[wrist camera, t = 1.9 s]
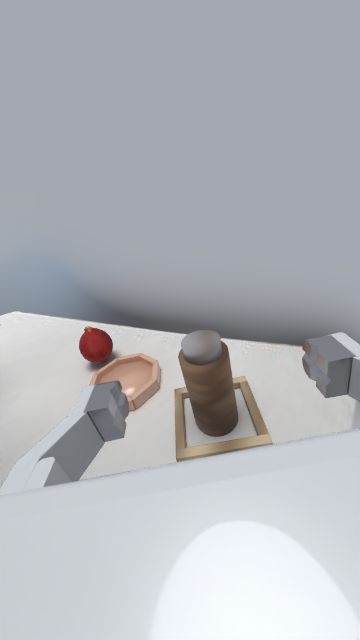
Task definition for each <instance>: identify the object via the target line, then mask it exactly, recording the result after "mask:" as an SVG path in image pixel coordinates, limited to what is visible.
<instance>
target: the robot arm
mask: <svg viewBox="0 0 360 640" xmlns="http://www.w3.org/2000/svg"><path fill="white" fill-rule="evenodd" d="M302 349H303V350H304V351H305V352H306V353H305V354H304V356H303V357H302V360H303V367H304V370H305V372H306V374H307V375H308V377H309V378H310V379H312V380H314V381H316V387H317V388H318V389H319V391H320V392H321V393H322V394H323V395H324V397H325V398H330V397H336V396H342V395H348V396H350V397H352V398H354V399H356V400H357V401H359V402H360V345H359V344H358V343H357V342H355V341H354V340H352V339H351V338H350V337H348V336H347V335H345V334H344V333H342V332H339V333H335V334H330V335H328V336H323V337H319V338H314V339H310V340H305V341H304V342H303V348H302ZM121 390H122V385H121V383H120V381H118V380H116V381H111V382H106V383H101V384H96V385H91V386H86V387H85V388H83V390H82V392H81V394H80V397H79V399H78V401H77V403H76V405H75V408H74V410H73V412H72V414H71V415H70V416H67V417H66V418H65V419H64V420H63V421H62V422H60V423H59V424H58V425H57V426H56V427H55V428H54V429H53V430H52V431H50V432H49V433H48V434H47V435H46V436H45V437H44V438H43V439H42V440H40V441H39V442H38V443H37V444H36V445H35V446H34V447H33V448H31V449H30V450H29V451H28V452H27V453H26V454H25V455H24V456H23V457H21V458H20V459H19V460H18V461H17V462H16V463H15V464H14V466H13V468H12V469H11V471H10V473H9V475H8V476H7V478H6V480H5V481H4V483H3V485H2V487H1V488H0V640H360V428H359V429H353V430H348V431H342V432H337V433H331V434H326V435H321V436H315V437H310V438H305V439H299V440H294V441H288V442H283V443H278V444H272V445H267V446H262V447H256V448H251V449H245V450H240V451H235V452H229V453H224V454H219V455H213V456H208V457H203V458H197V459H192V460H187V461H181V462H176V463H170V464H165V465H160V466H154V467H149V468H144V469H138V470H133V471H128V472H122V473H117V474H112V475H106V476H101V477H95V478H90V479H85V480H79V479H80V477H81V476H82V474H83V473H84V472H85V470H86V469H87V467H88V466H89V465H90V463H91V462H92V460H93V459H94V458H95V456H96V455H97V453H98V452H99V451H100V449H101V448H102V446H103V445H104V442H107V441H112V440H116V439H121V438H124V434H125V429H126V422H125V419H126V417H127V416H128V413H129V403H128V399H127V396H126V394H124V393H123V392H121ZM78 480H79V481H78Z"/></svg>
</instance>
